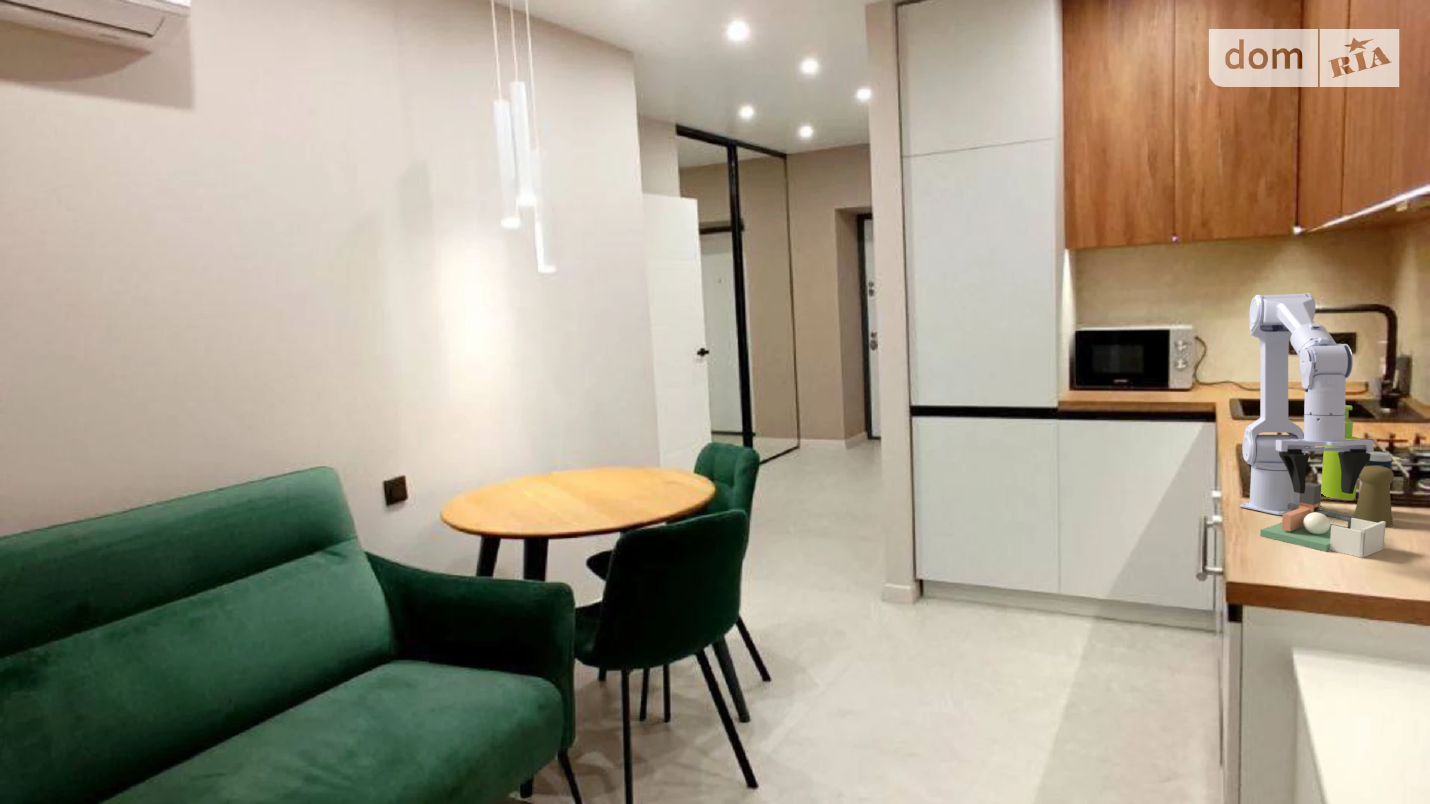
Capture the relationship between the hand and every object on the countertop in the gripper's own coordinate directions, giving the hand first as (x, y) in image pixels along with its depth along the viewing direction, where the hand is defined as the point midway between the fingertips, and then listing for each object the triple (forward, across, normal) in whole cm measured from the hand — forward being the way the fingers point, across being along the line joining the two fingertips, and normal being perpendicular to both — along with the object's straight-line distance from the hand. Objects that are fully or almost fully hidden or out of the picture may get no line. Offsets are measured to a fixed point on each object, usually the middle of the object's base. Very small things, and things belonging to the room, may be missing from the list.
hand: (1323, 492), depth 144 cm
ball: (+7, +3, +8) cm, 11 cm away
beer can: (+8, +22, +25) cm, 34 cm away
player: (+8, +2, +11) cm, 14 cm away
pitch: (+10, +4, +10) cm, 15 cm away
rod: (+8, +6, +12) cm, 16 cm away
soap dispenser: (+6, +21, +35) cm, 41 cm away
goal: (+10, +7, +3) cm, 13 cm away
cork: (+9, +18, +18) cm, 28 cm away
